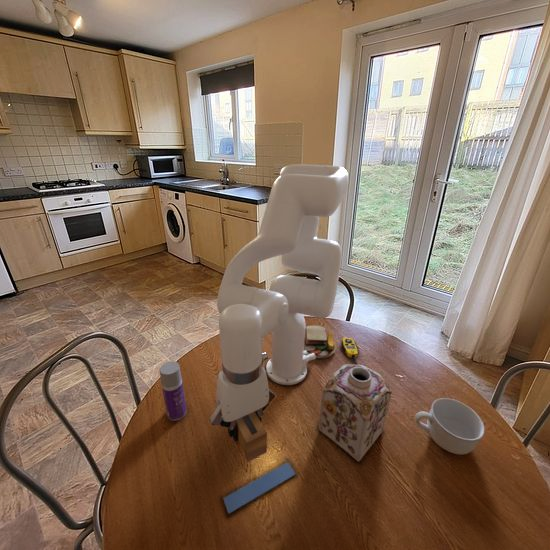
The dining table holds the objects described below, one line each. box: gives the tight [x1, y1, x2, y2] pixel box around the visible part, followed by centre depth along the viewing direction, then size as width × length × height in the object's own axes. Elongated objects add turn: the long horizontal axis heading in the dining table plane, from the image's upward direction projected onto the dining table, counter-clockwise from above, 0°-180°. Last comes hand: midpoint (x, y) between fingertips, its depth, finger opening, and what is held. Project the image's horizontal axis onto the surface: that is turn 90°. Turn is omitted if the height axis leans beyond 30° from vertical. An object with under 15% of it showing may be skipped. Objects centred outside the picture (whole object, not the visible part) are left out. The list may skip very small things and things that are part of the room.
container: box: [159, 360, 187, 421], centre depth 72 cm, size 5×5×15 cm
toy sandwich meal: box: [304, 325, 337, 359], centre depth 100 cm, size 12×14×5 cm
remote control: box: [341, 337, 359, 365], centre depth 97 cm, size 5×2×15 cm
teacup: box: [414, 397, 486, 455], centre depth 69 cm, size 14×11×8 cm
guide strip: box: [222, 461, 297, 515], centre depth 59 cm, size 15×3×1 cm, turn 119°
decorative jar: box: [318, 363, 393, 462], centre depth 68 cm, size 12×12×18 cm
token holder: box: [236, 411, 268, 463], centre depth 62 cm, size 12×4×6 cm, turn 29°
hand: (245, 430), depth 63 cm, fingers closed on token holder, 4 cm apart
